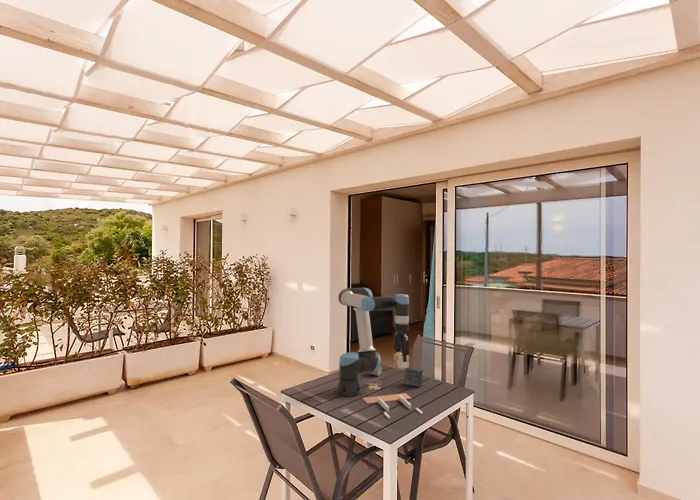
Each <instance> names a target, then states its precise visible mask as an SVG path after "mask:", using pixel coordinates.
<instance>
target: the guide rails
mask: <svg viewBox="0 0 700 500" xmlns="http://www.w3.org/2000/svg"><path fill="white" fill-rule="evenodd" d="M398 401H399V402H401V403H402V404H403V405H404V406H405V407H406V408H407V409H408V410H411V409H412V403H410V402H409V401H408V399H404V398H403V397H402V396H401V395H399V400H398ZM378 404H379V405H380V406H381V407H382V408H383V409H384V410H385V412H386V413H388V412H390V406H389V405H388V404H387V402H384V401H383V400H382V399H381V398H380V397H378Z"/></svg>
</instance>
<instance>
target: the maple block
mask: <svg viewBox="0 0 700 500" xmlns="http://www.w3.org/2000/svg"><path fill="white" fill-rule="evenodd" d="M401 355H402V352H401V354H396V353H394V354H393V365H394V366H395V367H396V368H398V369H402V368H401V361H402V356H401ZM407 367H410V355H407Z"/></svg>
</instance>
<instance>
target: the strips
mask: <svg viewBox="0 0 700 500" xmlns="http://www.w3.org/2000/svg"><path fill="white" fill-rule="evenodd" d="M415 411H416V412H418V413H419V414H420V415H423V414H424V413H423V411H422V410H421V409H420V408H418V407H415ZM383 415H384V416H385V417H386V418H387V419H391V416H390V415H389V414H388V412H387V411H383Z"/></svg>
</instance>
